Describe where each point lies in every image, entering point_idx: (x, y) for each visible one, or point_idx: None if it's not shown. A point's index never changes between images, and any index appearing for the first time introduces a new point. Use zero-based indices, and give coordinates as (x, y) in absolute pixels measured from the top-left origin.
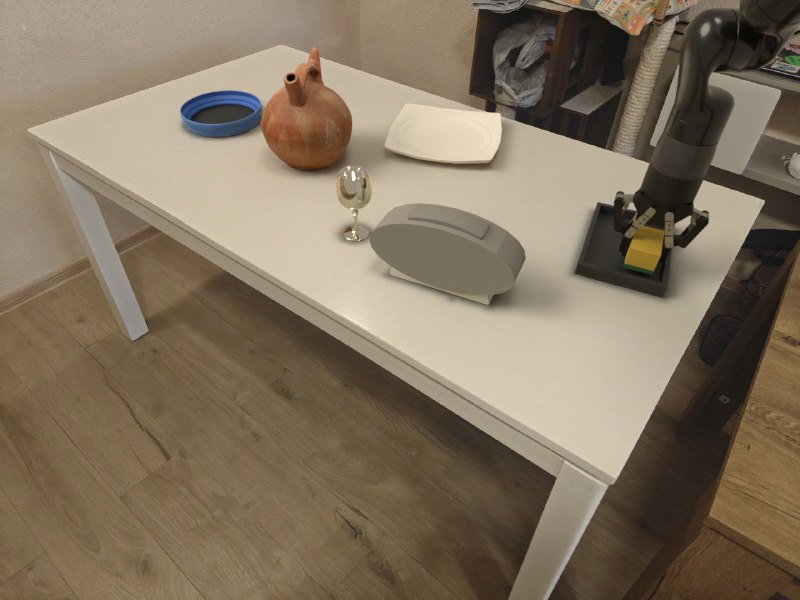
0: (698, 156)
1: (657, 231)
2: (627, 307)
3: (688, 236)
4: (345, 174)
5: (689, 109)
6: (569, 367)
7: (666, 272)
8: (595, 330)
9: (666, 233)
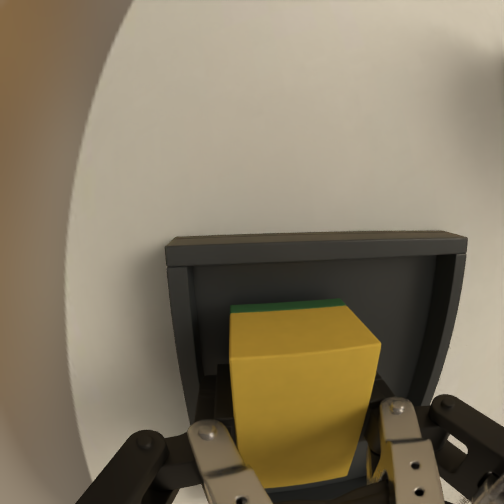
0: None
1: (266, 480)
2: (280, 130)
3: (126, 484)
4: None
5: None
6: None
7: (183, 336)
8: (344, 14)
9: (247, 480)
